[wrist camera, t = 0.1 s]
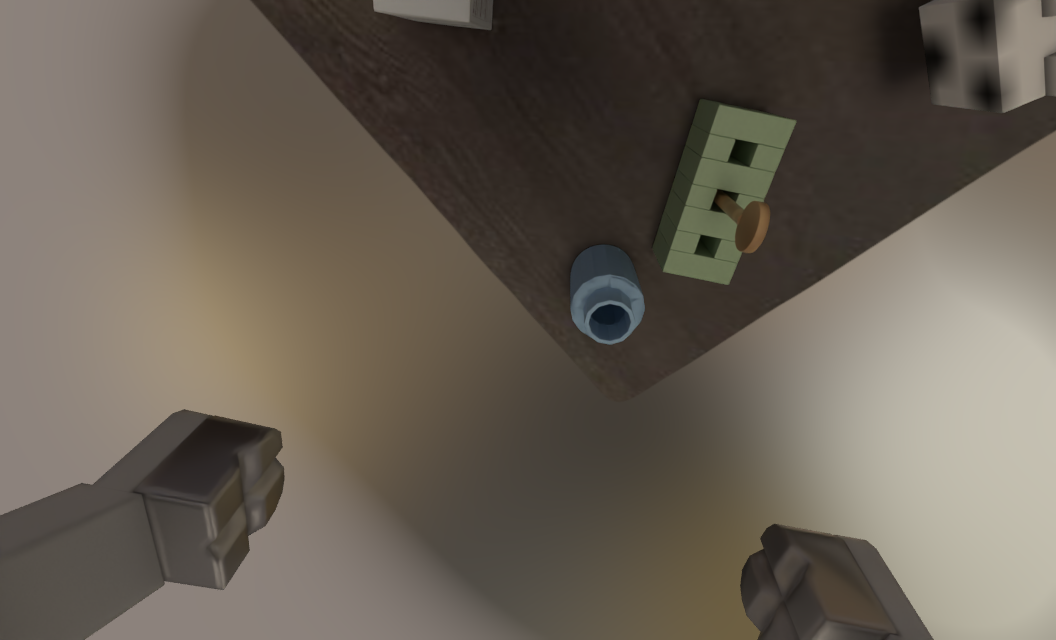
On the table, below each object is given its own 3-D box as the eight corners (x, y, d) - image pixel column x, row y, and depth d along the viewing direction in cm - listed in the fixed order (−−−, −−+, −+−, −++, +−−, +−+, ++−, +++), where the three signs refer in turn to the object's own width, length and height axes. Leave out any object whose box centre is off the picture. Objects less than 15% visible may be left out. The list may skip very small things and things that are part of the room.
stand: (700, 98, 48) (719, 104, 42) (768, 112, 49) (797, 120, 42) (651, 248, 56) (662, 271, 50) (711, 260, 56) (728, 285, 50)
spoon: (707, 164, 51) (763, 207, 36) (718, 166, 51) (779, 210, 36) (694, 202, 53) (742, 258, 38) (704, 204, 53) (757, 261, 38)
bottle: (578, 238, 56) (581, 280, 45) (641, 251, 56) (658, 296, 45) (564, 295, 59) (563, 347, 49) (624, 307, 59) (636, 361, 49)
